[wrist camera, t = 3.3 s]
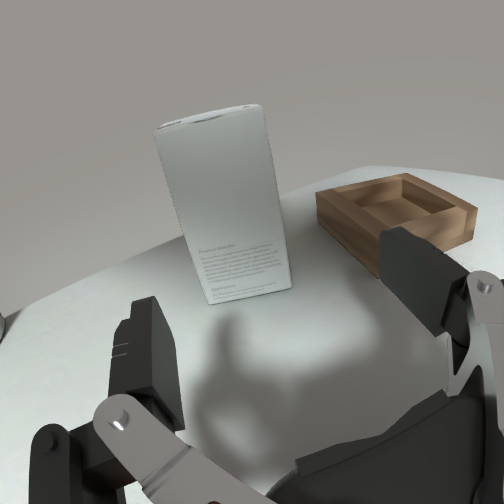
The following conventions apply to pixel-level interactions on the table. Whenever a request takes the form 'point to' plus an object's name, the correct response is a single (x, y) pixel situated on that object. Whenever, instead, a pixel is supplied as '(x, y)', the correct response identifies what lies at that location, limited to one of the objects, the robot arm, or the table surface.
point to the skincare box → (227, 201)
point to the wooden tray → (393, 214)
